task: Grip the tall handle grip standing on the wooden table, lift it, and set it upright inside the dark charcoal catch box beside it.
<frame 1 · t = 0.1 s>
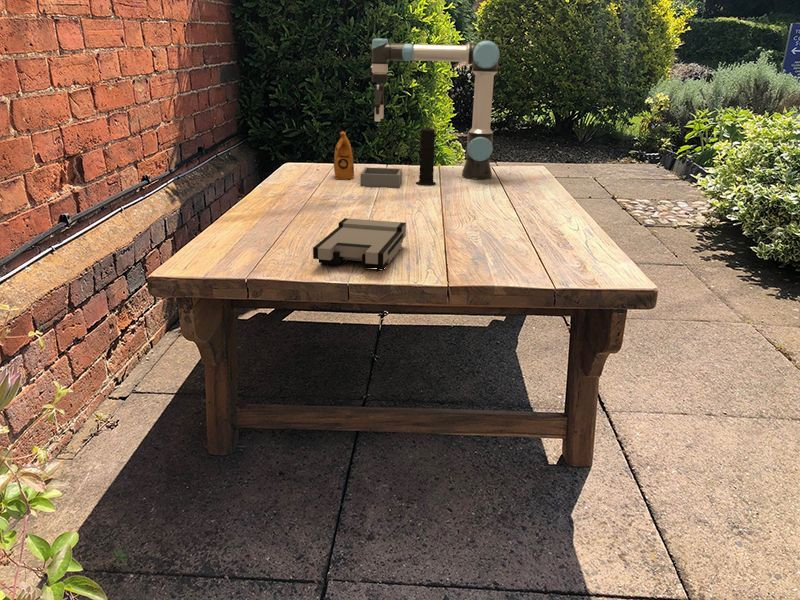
hand: (379, 120, 326), 28 cm above the table, tool pointing down, fingers open, 13 cm apart
catch box: (381, 183, 322), on the table
handle grip: (426, 184, 324), on the table
office tray: (362, 258, 209), on the table
coffee package: (343, 178, 334), on the table
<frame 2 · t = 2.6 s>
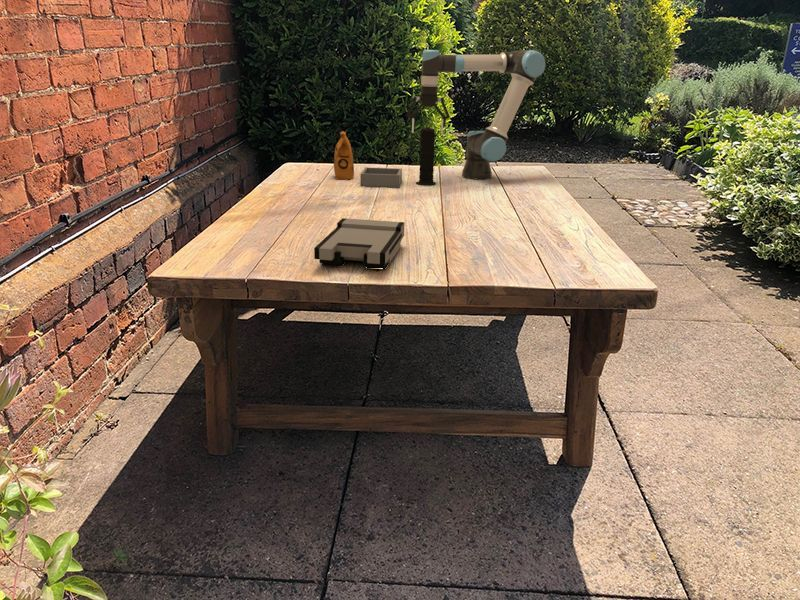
hand: (427, 133, 316), 24 cm above the table, tool pointing down, fingers open, 13 cm apart
nothing on the table moved.
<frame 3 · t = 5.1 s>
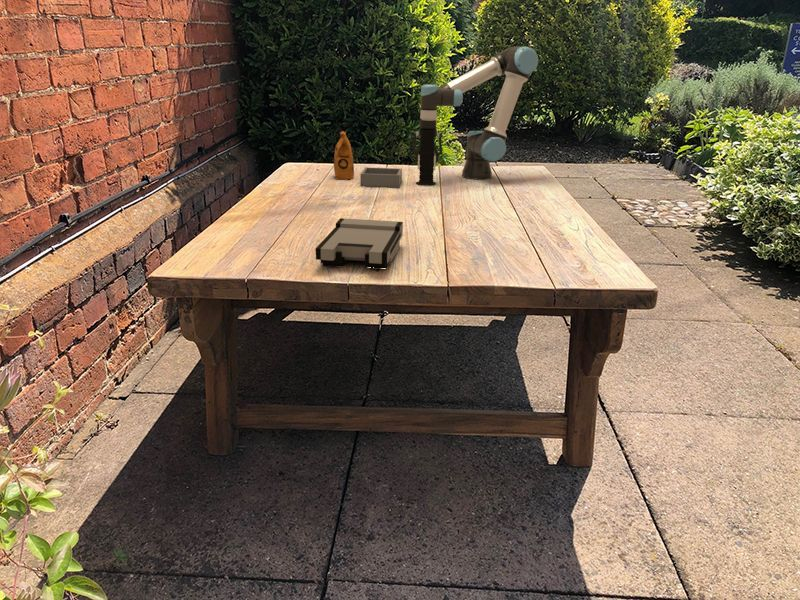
hand: (426, 169, 322), 7 cm above the table, tool pointing down, fingers closed on handle grip, 7 cm apart
handle grip: (426, 184, 324), on the table, touching gripper
everything else where it was.
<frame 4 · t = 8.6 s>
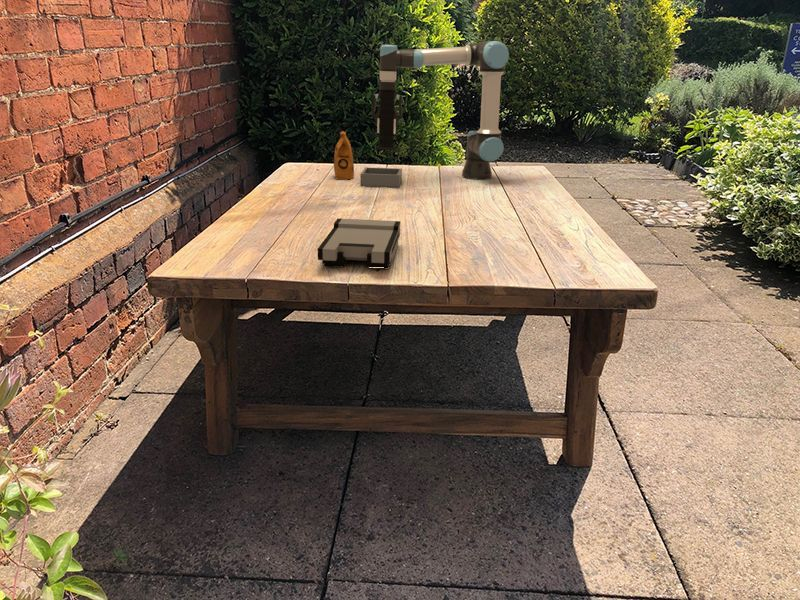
hand: (386, 133, 314), 24 cm above the table, tool pointing down, fingers closed on handle grip, 7 cm apart
handle grip: (386, 148, 316), point 16 cm above the table, touching gripper
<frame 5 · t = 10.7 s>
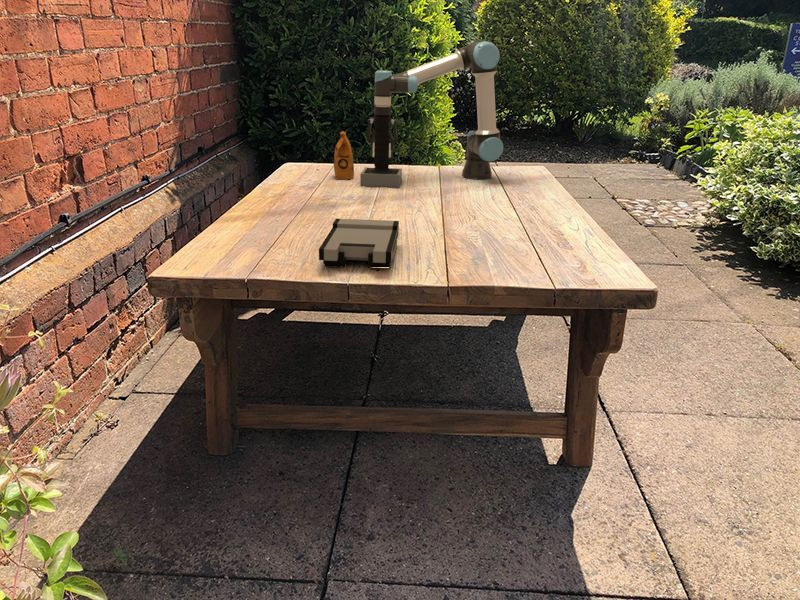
hand: (381, 156, 317), 13 cm above the table, tool pointing down, fingers closed on handle grip, 7 cm apart
handle grip: (381, 172, 320), point 6 cm above the table, touching gripper
when the fingers open (9 cm above the table, at t = 12.2 s): handle grip drops 1 cm, resting on catch box.
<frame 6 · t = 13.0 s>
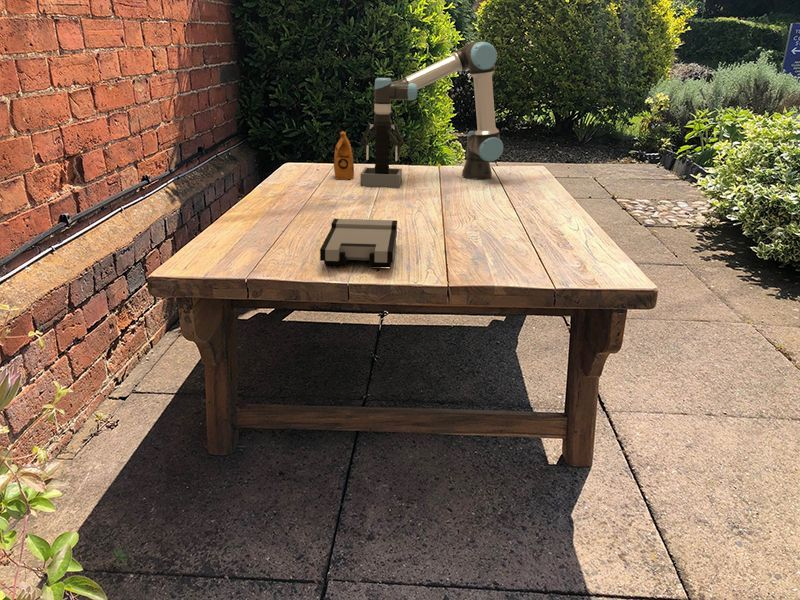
hand: (381, 160, 318), 11 cm above the table, tool pointing down, fingers open, 13 cm apart
handle grip: (381, 182, 321), point 1 cm above the table, touching catch box
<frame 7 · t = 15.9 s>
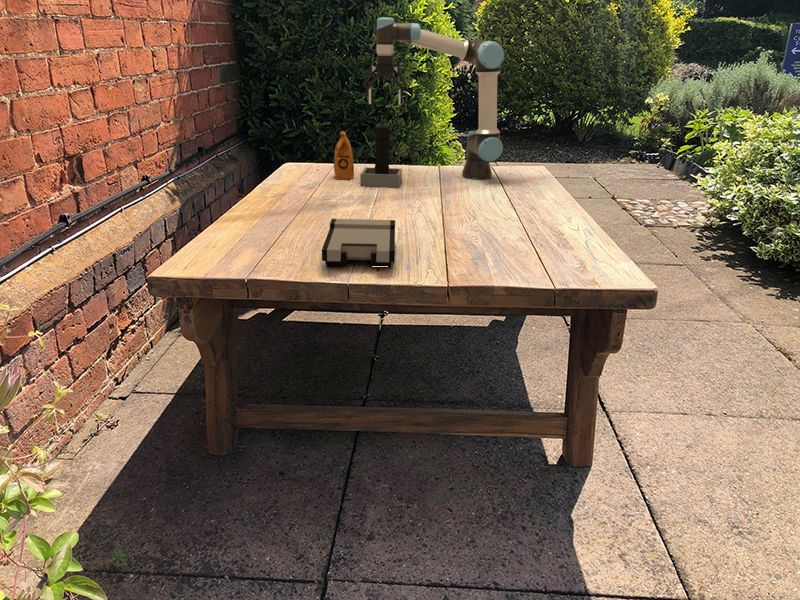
hand: (384, 104, 310), 36 cm above the table, tool pointing down, fingers open, 13 cm apart
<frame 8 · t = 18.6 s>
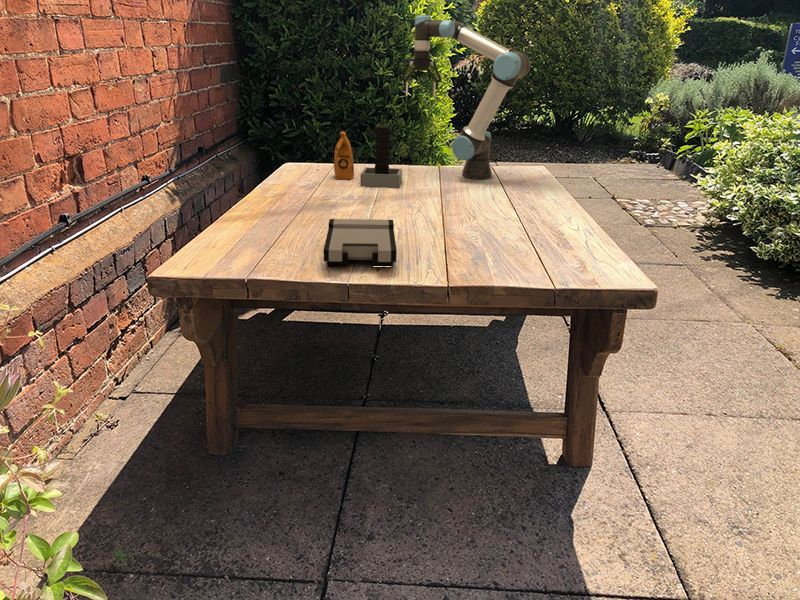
hand: (420, 96, 333), 39 cm above the table, tool pointing down, fingers open, 13 cm apart
at the end: handle grip inside the target area on the catch box (0.0 cm from its centre), point 0.8 cm above the catch box's base; handle grip tilted 0°; the gripper is holding nothing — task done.
